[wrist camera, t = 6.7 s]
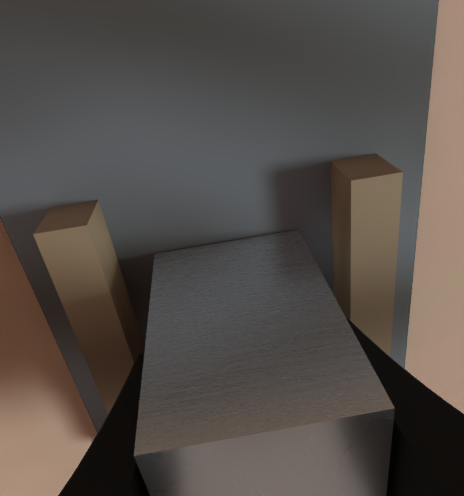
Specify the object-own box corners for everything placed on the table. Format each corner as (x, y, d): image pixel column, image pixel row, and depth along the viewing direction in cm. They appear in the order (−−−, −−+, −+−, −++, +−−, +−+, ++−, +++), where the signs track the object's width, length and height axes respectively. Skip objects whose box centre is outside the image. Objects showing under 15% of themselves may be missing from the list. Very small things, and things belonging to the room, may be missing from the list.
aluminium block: (304, 337, 14) (382, 541, 8) (182, 359, 13) (183, 578, 8) (298, 229, 12) (394, 408, 6) (154, 253, 11) (134, 455, 6)
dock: (390, 462, 18) (412, 507, 16) (137, 509, 18) (132, 560, 16) (442, -160, 8) (508, -205, 7) (-121, -77, 8) (-200, -102, 6)
